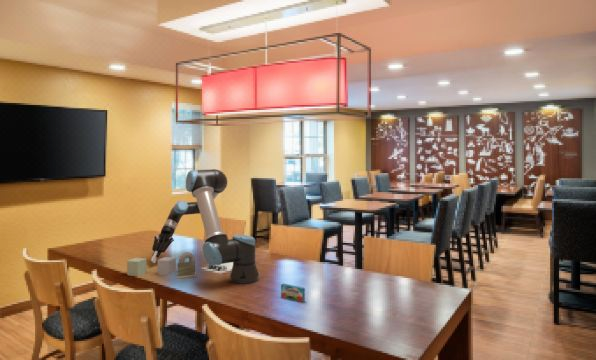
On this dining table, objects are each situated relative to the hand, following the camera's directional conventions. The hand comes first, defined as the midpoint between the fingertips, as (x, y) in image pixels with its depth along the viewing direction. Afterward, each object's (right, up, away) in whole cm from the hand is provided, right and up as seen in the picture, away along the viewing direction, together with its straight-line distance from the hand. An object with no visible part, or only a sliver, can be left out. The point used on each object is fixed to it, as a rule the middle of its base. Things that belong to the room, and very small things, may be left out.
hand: (152, 261), depth 239 cm
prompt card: (+25, -4, -19) cm, 31 cm away
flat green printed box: (+82, -7, -53) cm, 98 cm away
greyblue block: (+12, -4, -12) cm, 17 cm away
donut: (+21, -4, -4) cm, 22 cm away
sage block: (-4, -4, -13) cm, 14 cm away
